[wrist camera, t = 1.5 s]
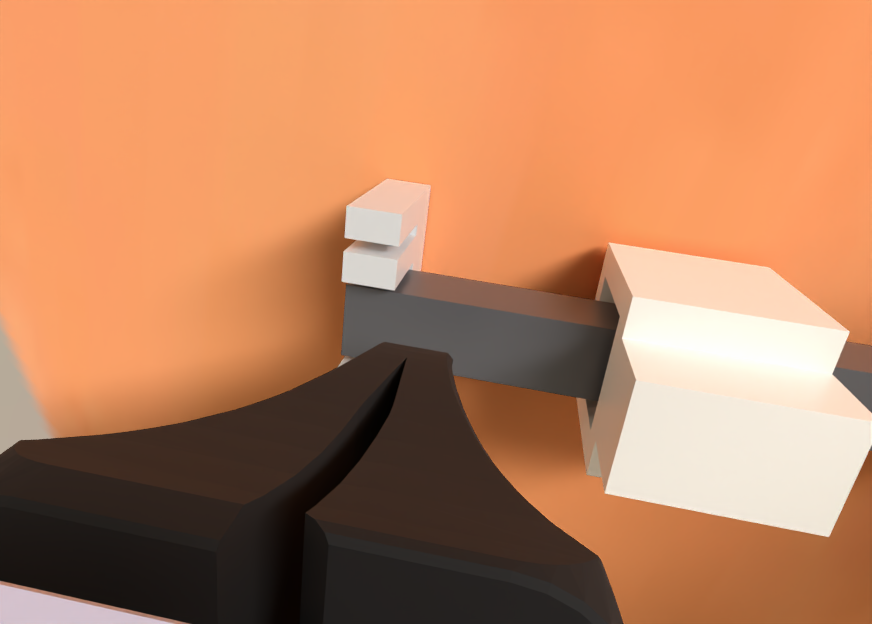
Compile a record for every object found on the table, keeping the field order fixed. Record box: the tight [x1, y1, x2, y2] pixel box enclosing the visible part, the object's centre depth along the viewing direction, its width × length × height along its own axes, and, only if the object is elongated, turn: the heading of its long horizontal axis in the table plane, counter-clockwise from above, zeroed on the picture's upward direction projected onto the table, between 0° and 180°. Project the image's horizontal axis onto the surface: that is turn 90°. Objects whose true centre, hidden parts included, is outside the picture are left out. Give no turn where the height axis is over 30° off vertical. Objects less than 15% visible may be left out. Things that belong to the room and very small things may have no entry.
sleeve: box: [576, 242, 872, 537], centre depth 13 cm, size 4×4×6 cm
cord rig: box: [338, 179, 872, 451], centre depth 14 cm, size 19×6×4 cm, turn 83°
